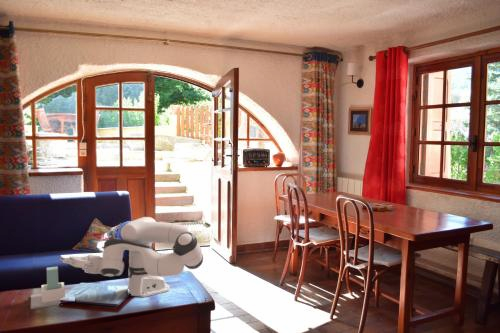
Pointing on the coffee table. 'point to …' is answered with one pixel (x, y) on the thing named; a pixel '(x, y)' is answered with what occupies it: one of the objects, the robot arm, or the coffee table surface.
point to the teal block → (52, 278)
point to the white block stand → (48, 296)
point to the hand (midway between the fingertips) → (61, 260)
